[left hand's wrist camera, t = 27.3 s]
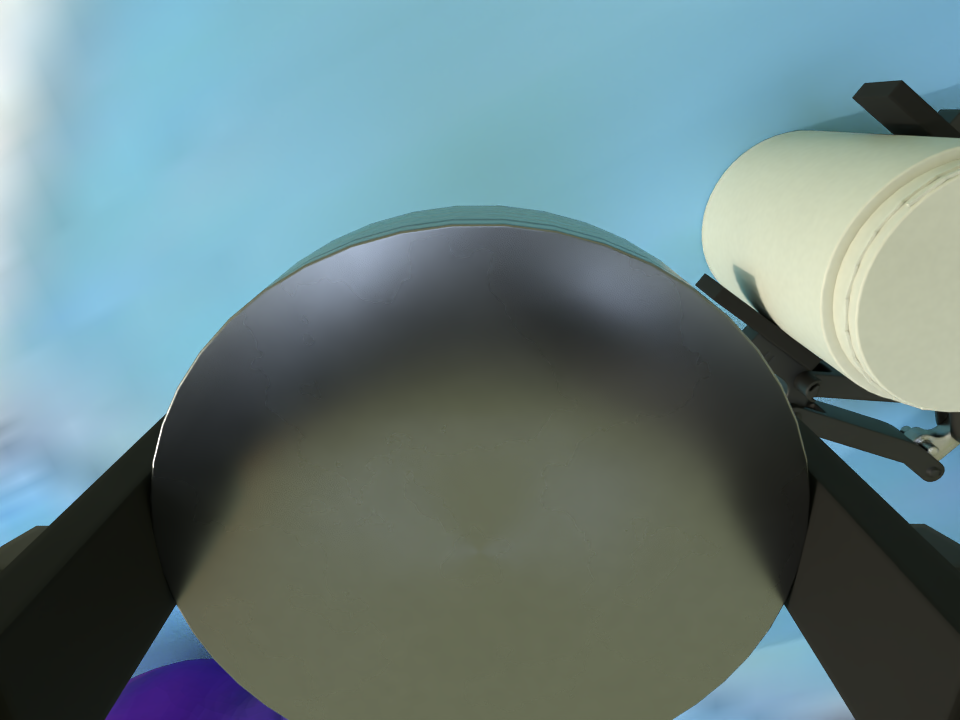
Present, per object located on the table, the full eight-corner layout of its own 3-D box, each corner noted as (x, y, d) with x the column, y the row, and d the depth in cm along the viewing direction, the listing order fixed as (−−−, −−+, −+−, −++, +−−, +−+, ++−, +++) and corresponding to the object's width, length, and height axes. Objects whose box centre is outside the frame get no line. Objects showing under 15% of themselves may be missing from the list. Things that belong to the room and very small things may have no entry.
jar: (909, 230, 36) (1189, 306, 22) (760, 337, 38) (924, 469, 24) (821, 89, 33) (1076, 71, 19) (667, 215, 35) (790, 283, 21)
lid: (128, 229, 10) (56, 252, 9) (795, 180, 10) (861, 195, 8) (261, 703, 14) (230, 784, 13) (737, 678, 14) (773, 758, 12)
